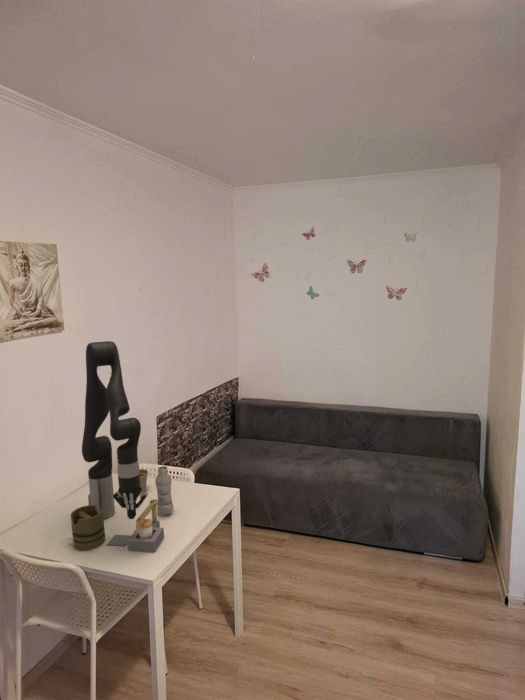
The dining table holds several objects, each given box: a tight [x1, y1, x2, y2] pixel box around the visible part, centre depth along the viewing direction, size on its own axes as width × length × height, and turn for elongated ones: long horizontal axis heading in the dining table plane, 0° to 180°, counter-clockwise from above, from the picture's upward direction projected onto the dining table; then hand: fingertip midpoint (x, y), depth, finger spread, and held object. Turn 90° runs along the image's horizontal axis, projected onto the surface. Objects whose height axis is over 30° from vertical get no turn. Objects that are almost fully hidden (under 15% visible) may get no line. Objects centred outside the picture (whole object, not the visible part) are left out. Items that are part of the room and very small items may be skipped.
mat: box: [106, 534, 132, 547], centre depth 181 cm, size 7×7×1 cm
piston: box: [70, 504, 106, 552], centre depth 180 cm, size 11×12×11 cm
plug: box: [139, 518, 153, 539], centre depth 178 cm, size 5×5×9 cm
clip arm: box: [135, 499, 158, 532], centre depth 179 cm, size 3×16×4 cm, turn 171°
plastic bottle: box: [154, 465, 174, 516], centre depth 200 cm, size 6×7×20 cm
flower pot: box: [139, 468, 149, 493], centre depth 223 cm, size 9×9×9 cm
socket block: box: [126, 506, 165, 553], centre depth 180 cm, size 10×15×11 cm, turn 171°
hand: (132, 518), depth 177 cm, fingers closed
